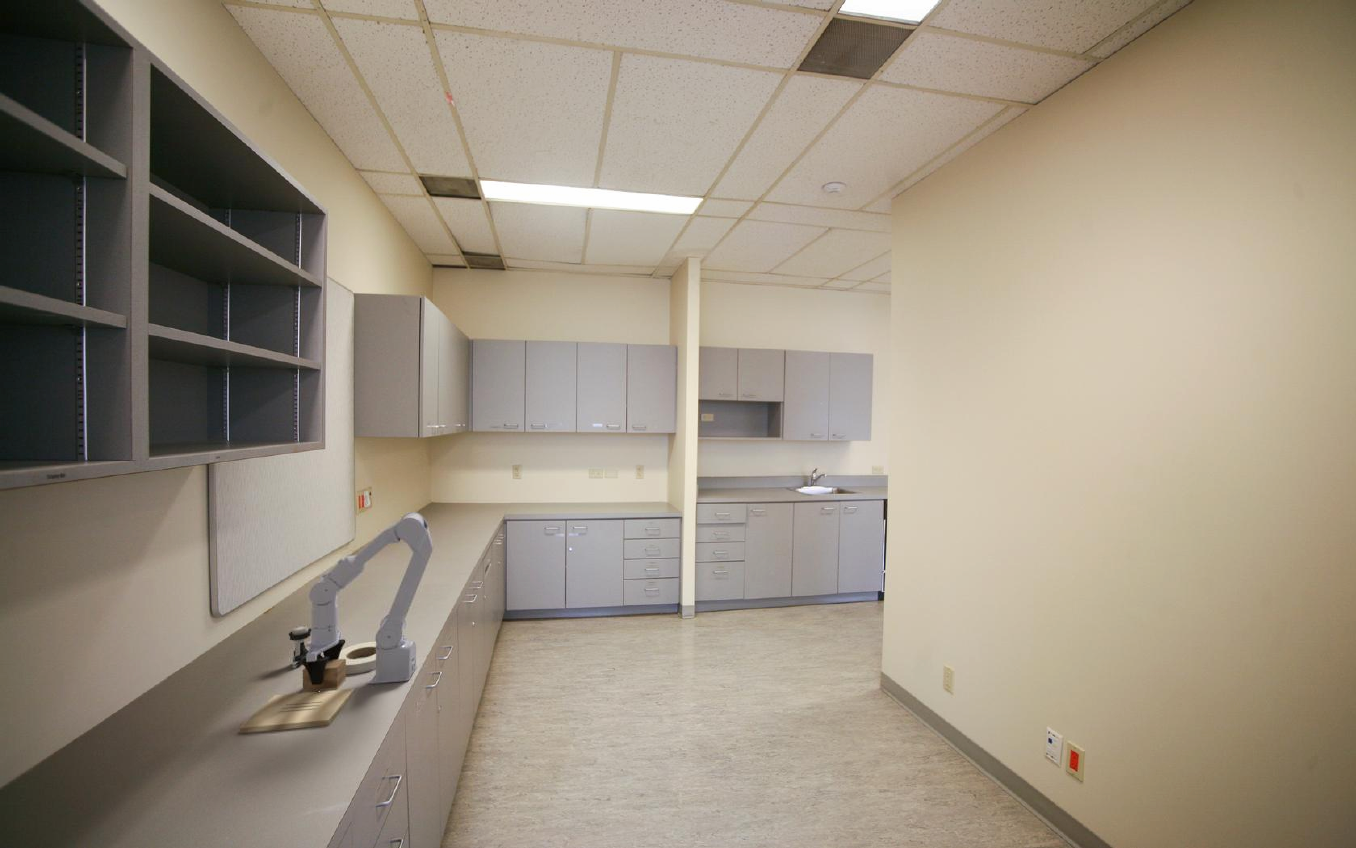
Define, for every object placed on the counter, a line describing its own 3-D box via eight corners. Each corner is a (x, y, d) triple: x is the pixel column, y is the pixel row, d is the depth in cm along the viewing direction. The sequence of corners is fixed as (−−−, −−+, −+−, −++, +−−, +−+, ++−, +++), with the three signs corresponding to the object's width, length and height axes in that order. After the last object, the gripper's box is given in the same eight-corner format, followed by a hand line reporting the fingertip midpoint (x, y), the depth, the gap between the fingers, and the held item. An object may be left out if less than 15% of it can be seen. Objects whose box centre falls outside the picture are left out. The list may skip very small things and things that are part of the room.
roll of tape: (318, 668, 147) (318, 657, 147) (370, 646, 161) (370, 637, 161) (354, 680, 140) (354, 669, 140) (405, 656, 154) (405, 647, 154)
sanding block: (345, 681, 139) (345, 658, 139) (337, 690, 134) (337, 667, 134) (312, 683, 138) (312, 661, 138) (302, 693, 133) (302, 670, 133)
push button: (303, 668, 146) (303, 633, 146) (282, 670, 144) (282, 634, 144) (315, 658, 152) (315, 624, 152) (294, 659, 151) (294, 625, 151)
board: (354, 693, 133) (354, 688, 133) (328, 725, 119) (328, 719, 119) (274, 700, 129) (274, 695, 129) (239, 733, 116) (239, 728, 116)
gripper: (321, 615, 142) (320, 665, 142) (292, 637, 128) (292, 692, 128) (349, 614, 144) (349, 663, 144) (324, 635, 129) (324, 689, 129)
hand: (324, 676), depth 136 cm, fingers open, 7 cm apart
